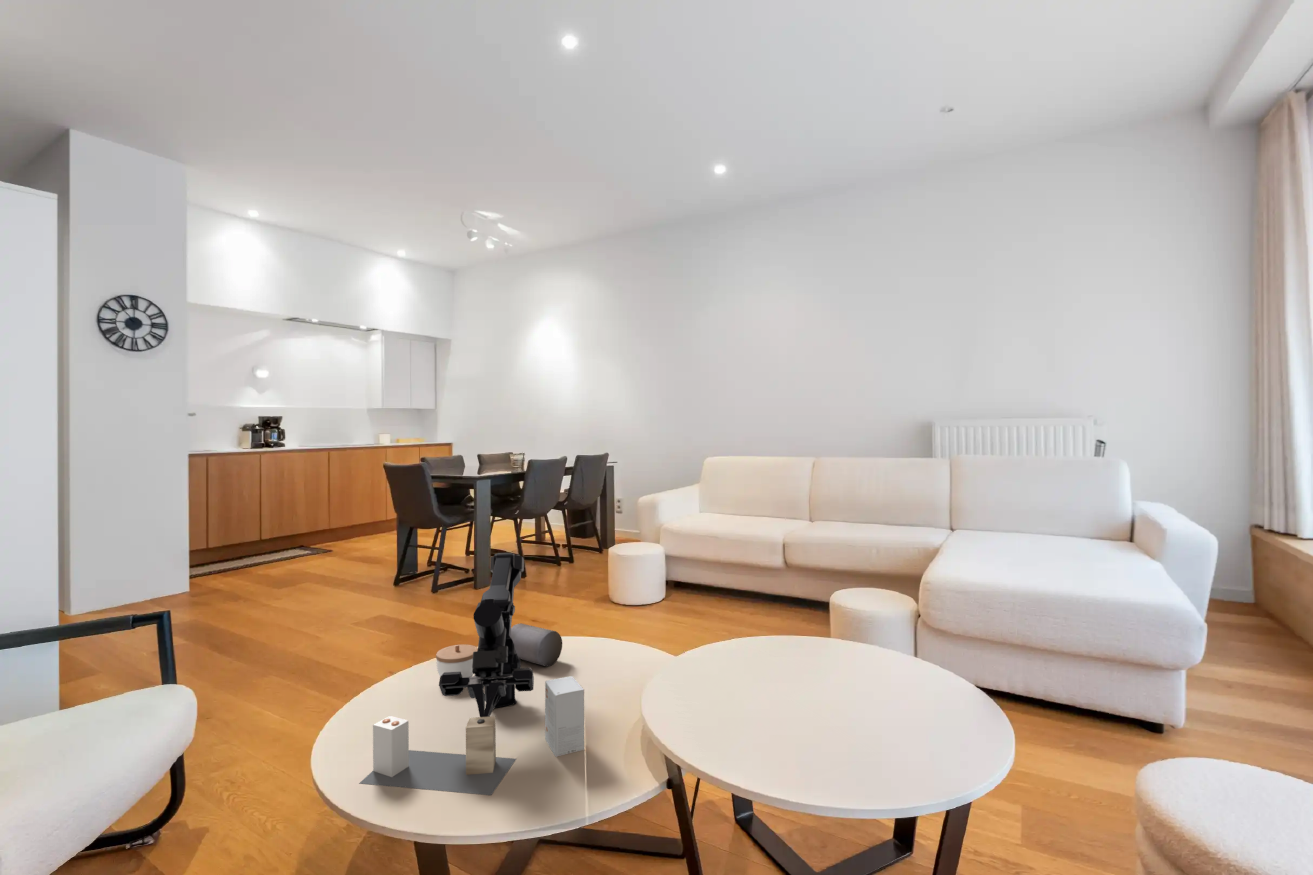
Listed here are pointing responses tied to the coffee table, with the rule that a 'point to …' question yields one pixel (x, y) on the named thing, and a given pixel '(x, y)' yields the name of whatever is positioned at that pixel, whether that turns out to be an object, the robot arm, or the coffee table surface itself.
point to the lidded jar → (456, 659)
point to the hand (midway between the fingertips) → (483, 724)
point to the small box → (564, 715)
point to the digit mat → (442, 774)
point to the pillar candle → (536, 644)
